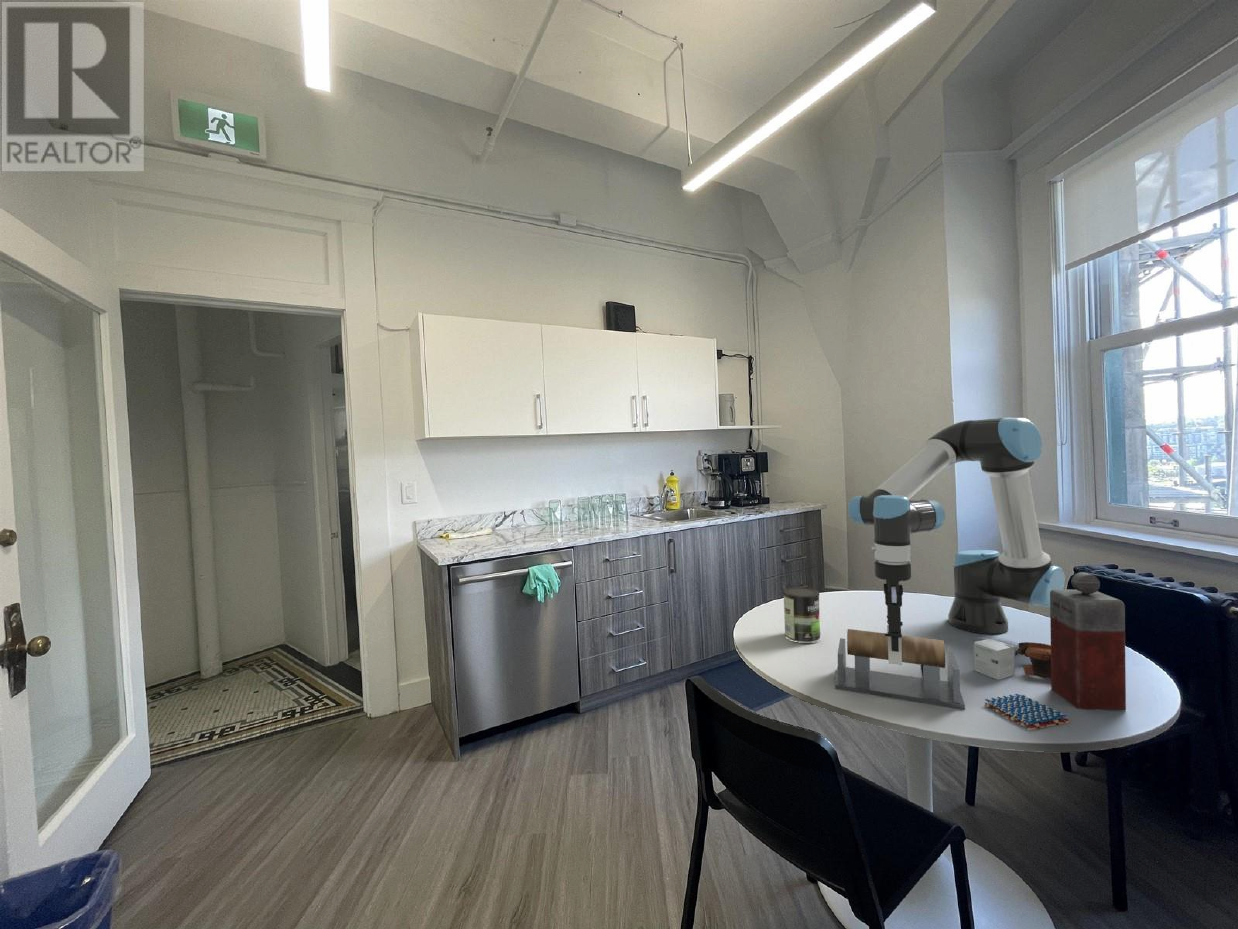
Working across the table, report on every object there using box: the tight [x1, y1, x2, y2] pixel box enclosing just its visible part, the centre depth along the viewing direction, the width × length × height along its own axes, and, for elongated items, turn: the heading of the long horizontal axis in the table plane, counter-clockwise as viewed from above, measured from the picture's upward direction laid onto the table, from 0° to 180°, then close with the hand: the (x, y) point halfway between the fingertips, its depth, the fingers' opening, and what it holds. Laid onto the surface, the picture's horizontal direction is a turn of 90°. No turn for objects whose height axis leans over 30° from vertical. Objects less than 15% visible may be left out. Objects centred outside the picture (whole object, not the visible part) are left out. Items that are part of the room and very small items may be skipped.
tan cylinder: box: [846, 628, 946, 669], centre depth 120 cm, size 20×6×6 cm, turn 63°
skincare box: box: [973, 638, 1015, 681], centre depth 126 cm, size 6×6×7 cm
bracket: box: [834, 637, 966, 710], centre depth 121 cm, size 26×11×8 cm, turn 63°
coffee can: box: [782, 586, 821, 644], centre depth 154 cm, size 10×10×14 cm
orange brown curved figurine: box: [1014, 641, 1051, 680], centre depth 125 cm, size 12×10×8 cm
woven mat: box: [984, 693, 1070, 731], centre depth 107 cm, size 10×11×2 cm
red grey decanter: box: [1049, 572, 1127, 711], centre depth 113 cm, size 9×11×28 cm
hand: (894, 658), depth 121 cm, fingers closed on tan cylinder, 6 cm apart
